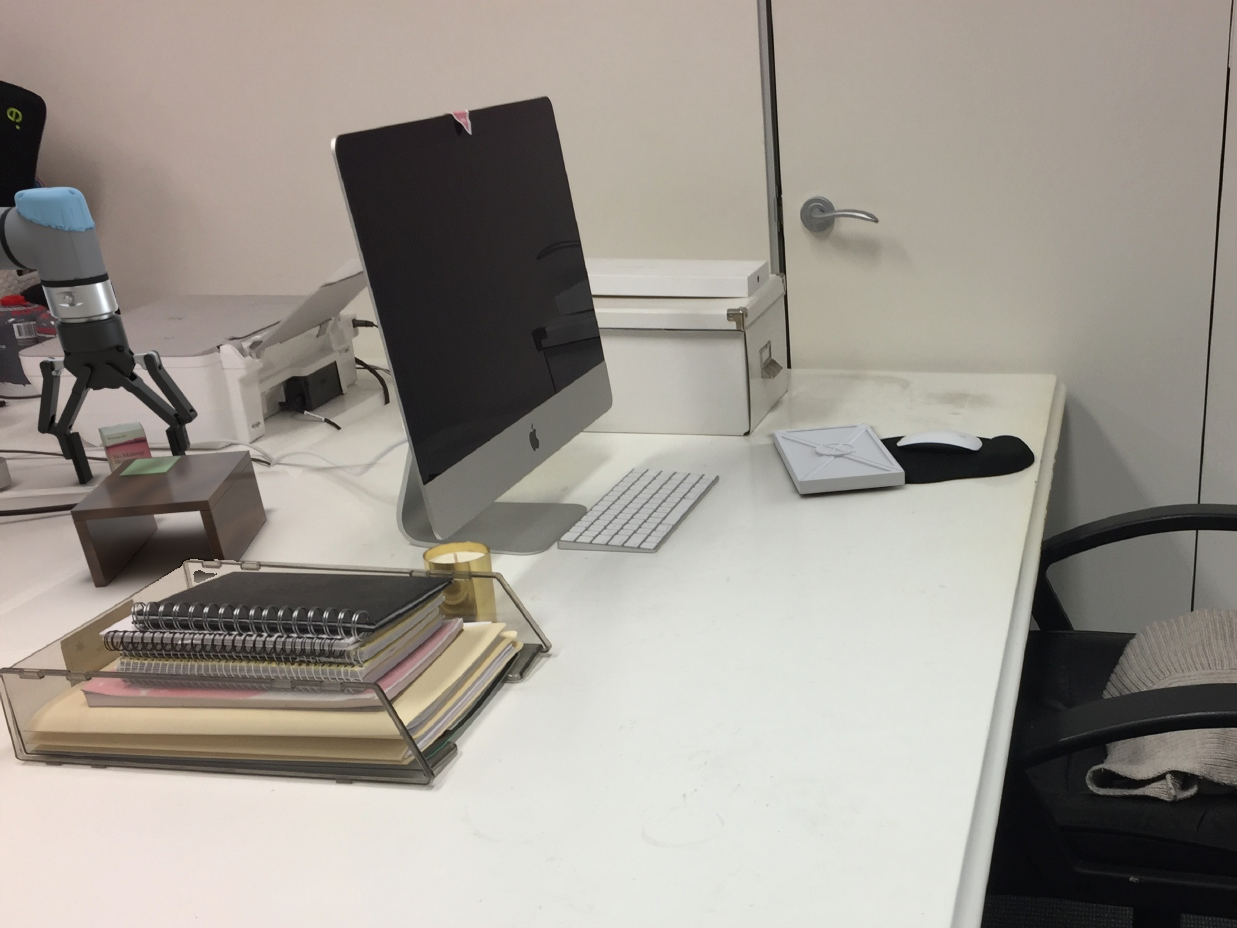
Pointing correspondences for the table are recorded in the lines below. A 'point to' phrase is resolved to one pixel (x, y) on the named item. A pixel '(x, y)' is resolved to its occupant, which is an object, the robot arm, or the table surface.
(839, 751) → the table surface
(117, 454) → the small box
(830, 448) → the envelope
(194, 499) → the shelf
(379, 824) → the table surface
